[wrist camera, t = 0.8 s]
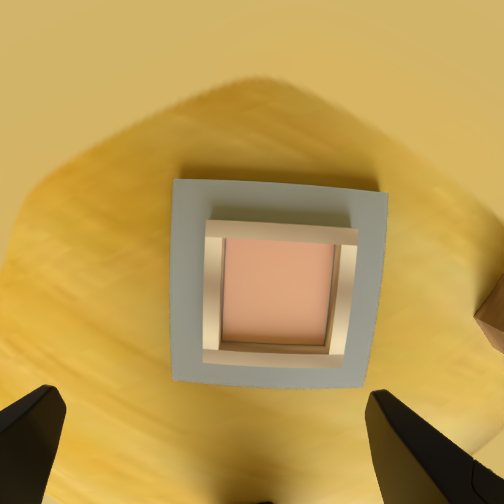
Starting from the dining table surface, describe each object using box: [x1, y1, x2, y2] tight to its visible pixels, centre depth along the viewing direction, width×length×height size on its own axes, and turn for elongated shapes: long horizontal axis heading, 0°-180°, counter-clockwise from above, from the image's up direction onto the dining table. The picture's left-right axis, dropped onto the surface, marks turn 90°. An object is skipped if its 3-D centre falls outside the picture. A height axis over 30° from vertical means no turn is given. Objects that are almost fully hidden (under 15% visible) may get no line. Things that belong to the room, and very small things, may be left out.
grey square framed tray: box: [170, 179, 388, 389], centre depth 20 cm, size 14×14×3 cm
